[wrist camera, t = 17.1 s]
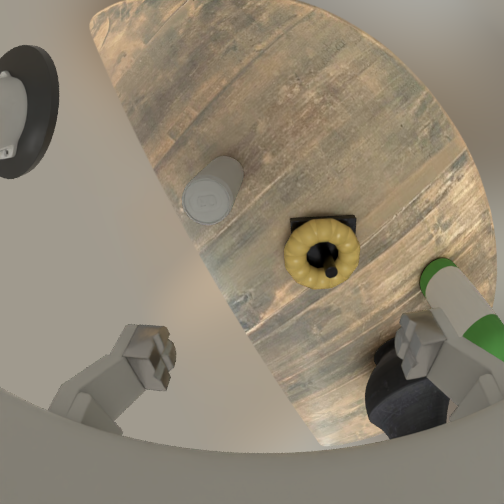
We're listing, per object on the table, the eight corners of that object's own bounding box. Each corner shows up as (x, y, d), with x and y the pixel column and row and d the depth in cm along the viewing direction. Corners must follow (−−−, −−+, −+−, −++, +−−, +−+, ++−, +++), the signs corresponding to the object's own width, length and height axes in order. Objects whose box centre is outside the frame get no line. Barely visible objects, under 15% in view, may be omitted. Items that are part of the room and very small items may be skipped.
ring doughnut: (285, 283, 42) (286, 295, 39) (281, 217, 37) (282, 226, 34) (353, 278, 40) (358, 290, 38) (358, 213, 36) (364, 222, 33)
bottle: (438, 297, 43) (510, 432, 16) (409, 288, 42) (484, 442, 16) (459, 262, 39) (552, 391, 13) (432, 249, 39) (535, 397, 12)
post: (292, 274, 42) (295, 304, 36) (290, 218, 38) (293, 241, 32) (350, 270, 41) (362, 299, 35) (354, 214, 37) (369, 237, 31)
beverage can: (205, 157, 35) (175, 180, 24) (242, 152, 34) (228, 173, 24) (210, 192, 37) (185, 228, 26) (246, 188, 36) (235, 224, 26)
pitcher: (339, 364, 52) (359, 503, 26) (414, 293, 43) (486, 443, 16) (390, 382, 55) (416, 494, 29) (455, 324, 46) (512, 439, 20)
